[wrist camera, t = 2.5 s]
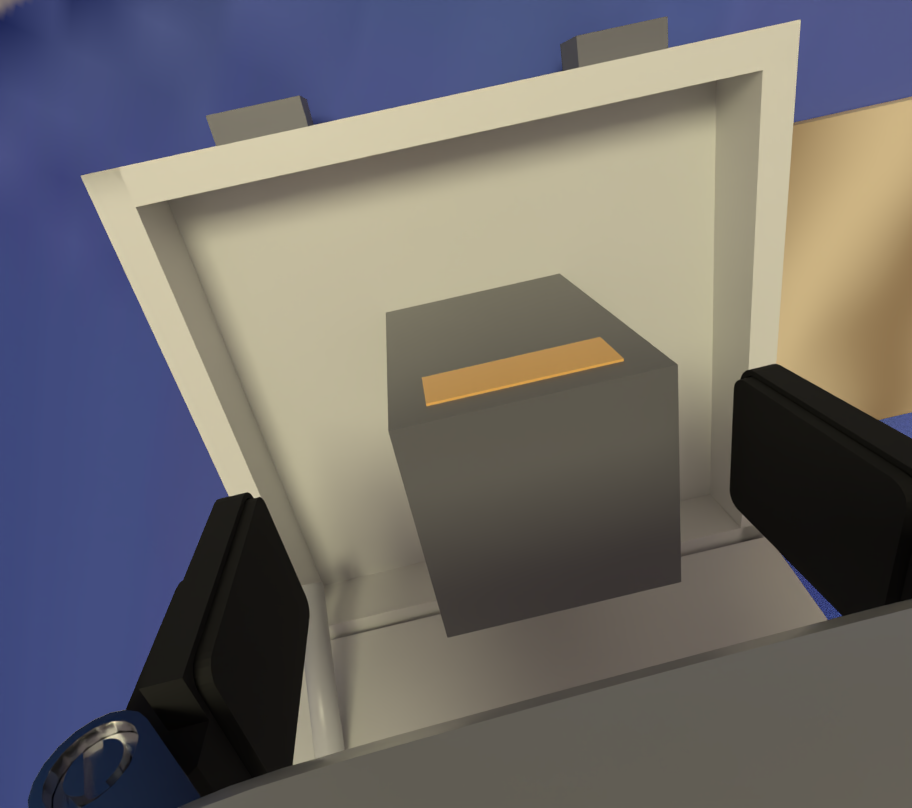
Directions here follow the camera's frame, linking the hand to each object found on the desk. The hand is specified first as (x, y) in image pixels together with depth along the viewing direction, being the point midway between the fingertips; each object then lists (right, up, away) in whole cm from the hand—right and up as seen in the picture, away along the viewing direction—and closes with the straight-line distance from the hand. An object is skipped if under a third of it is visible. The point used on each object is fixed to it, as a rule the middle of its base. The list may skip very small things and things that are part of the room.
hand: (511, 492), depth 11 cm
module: (0, +3, +6) cm, 6 cm away
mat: (+13, +6, +7) cm, 16 cm away
